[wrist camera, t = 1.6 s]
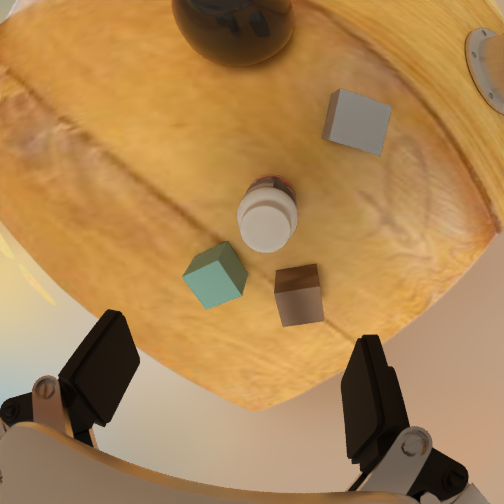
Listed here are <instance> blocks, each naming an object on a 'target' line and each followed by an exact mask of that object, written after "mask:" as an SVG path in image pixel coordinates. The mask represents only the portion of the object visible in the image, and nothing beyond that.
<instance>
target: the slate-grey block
mask: <svg viewBox="0 0 504 504" xmlns="http://www.w3.org/2000/svg"><path fill="white" fill-rule="evenodd" d="M391 109H392V106H389V105H387V104H384V103H382V102H379V101H376V100H374V99H371V98H368V97H365V96H362V95H359V94H356V93H353V92H350V91H347V90H344V89H341V88H340V89H339V90H337V91H336V92H334V93H333V94H331V99H330V104H329V108H328V113H327V117H326V122H325V126H324V131H323V135H322V138H324V139H327V140H330V141H333V142H337V143H340V144H343V145H347V146H350V147H353V148H356V149H359V150H363V151H366V152H369V153H372V154H374V155H377V156H380V155H381V151H382V148H383V144H384V140H385V135H386V131H387V127H388V123H389V118H390V114H391Z"/></svg>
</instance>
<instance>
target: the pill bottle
mask: <svg viewBox="0 0 504 504" xmlns="http://www.w3.org/2000/svg"><path fill="white" fill-rule="evenodd" d="M237 223H238V226H239V229H240V233H241V237H242V239H243V241H244V242H245V244H246V245H247V246H248V247H250V248H251V249H253V250H255V251H257V252H261V253H271V252H275V251H277V250H279V249H281V248H282V247H283V246H284V245H285V244H286V243H287V241H288V240H289V238H290V237H291V236H292V234H293V233H294V231H295V229H296V227H297V223H298V210H297V203H296V195H295V192H294V189H293V187H292V186H291V184H290V183H289V182H288V181H287V180H285V179H284V178H282V177H280V176H277V175H265V176H262V177H260V178H258V179H256V180H255V181H254V182H253V183H252V184H251V185H250V187H249V188H248V190H247V192H246V194H245V195H244V197H243V199H242V200H241V202H240V204H239V207H238V210H237Z"/></svg>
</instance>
